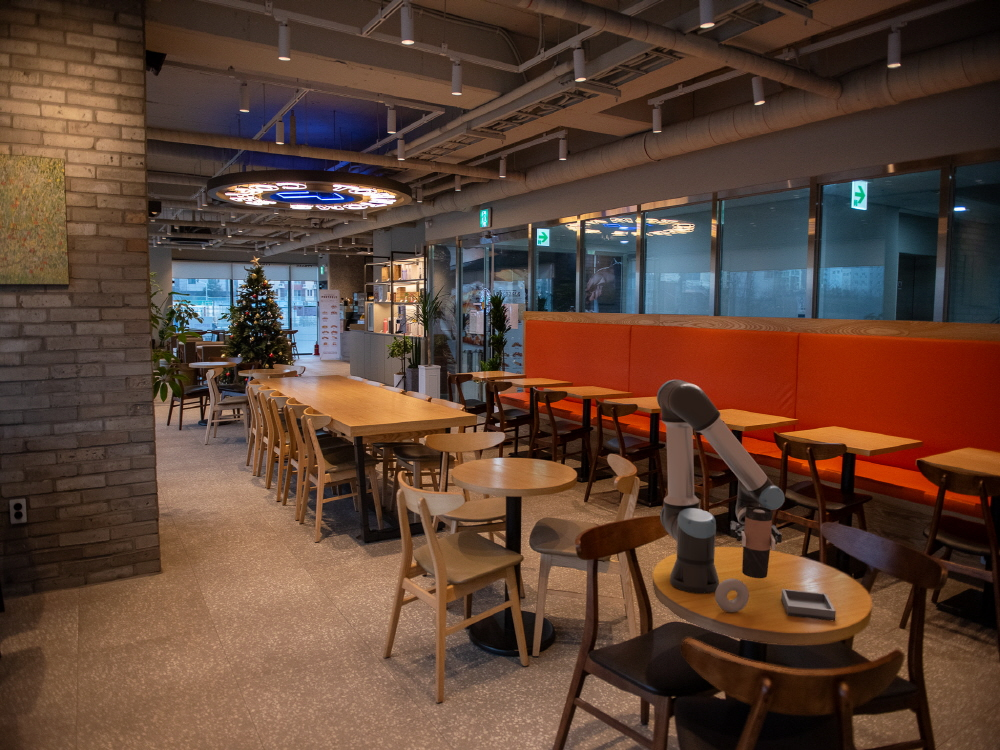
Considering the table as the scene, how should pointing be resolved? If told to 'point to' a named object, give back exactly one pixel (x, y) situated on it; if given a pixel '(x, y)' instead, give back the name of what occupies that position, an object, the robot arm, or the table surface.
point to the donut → (725, 589)
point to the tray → (808, 604)
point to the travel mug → (757, 542)
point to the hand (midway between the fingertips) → (759, 543)
